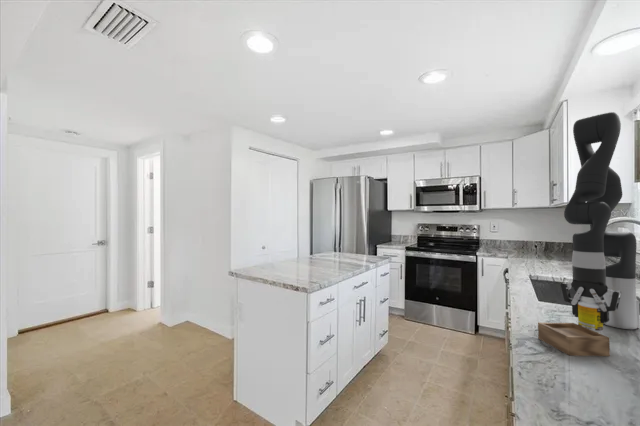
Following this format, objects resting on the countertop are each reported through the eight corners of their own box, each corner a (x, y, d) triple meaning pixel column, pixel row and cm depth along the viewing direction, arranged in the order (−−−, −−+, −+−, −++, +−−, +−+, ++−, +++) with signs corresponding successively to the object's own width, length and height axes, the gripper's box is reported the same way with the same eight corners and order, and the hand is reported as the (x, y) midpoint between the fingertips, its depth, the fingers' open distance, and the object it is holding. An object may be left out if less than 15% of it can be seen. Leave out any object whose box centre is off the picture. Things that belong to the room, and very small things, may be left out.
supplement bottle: (600, 334, 83) (599, 300, 83) (575, 328, 87) (575, 296, 88) (605, 330, 86) (604, 297, 86) (581, 324, 91) (580, 293, 91)
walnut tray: (573, 338, 87) (573, 322, 87) (609, 356, 76) (609, 337, 76) (538, 338, 87) (538, 322, 87) (569, 355, 76) (568, 337, 76)
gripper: (625, 267, 83) (627, 325, 82) (564, 261, 95) (566, 311, 95) (616, 270, 79) (618, 330, 79) (554, 263, 91) (556, 315, 91)
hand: (590, 319), depth 87 cm, fingers closed on supplement bottle, 5 cm apart
